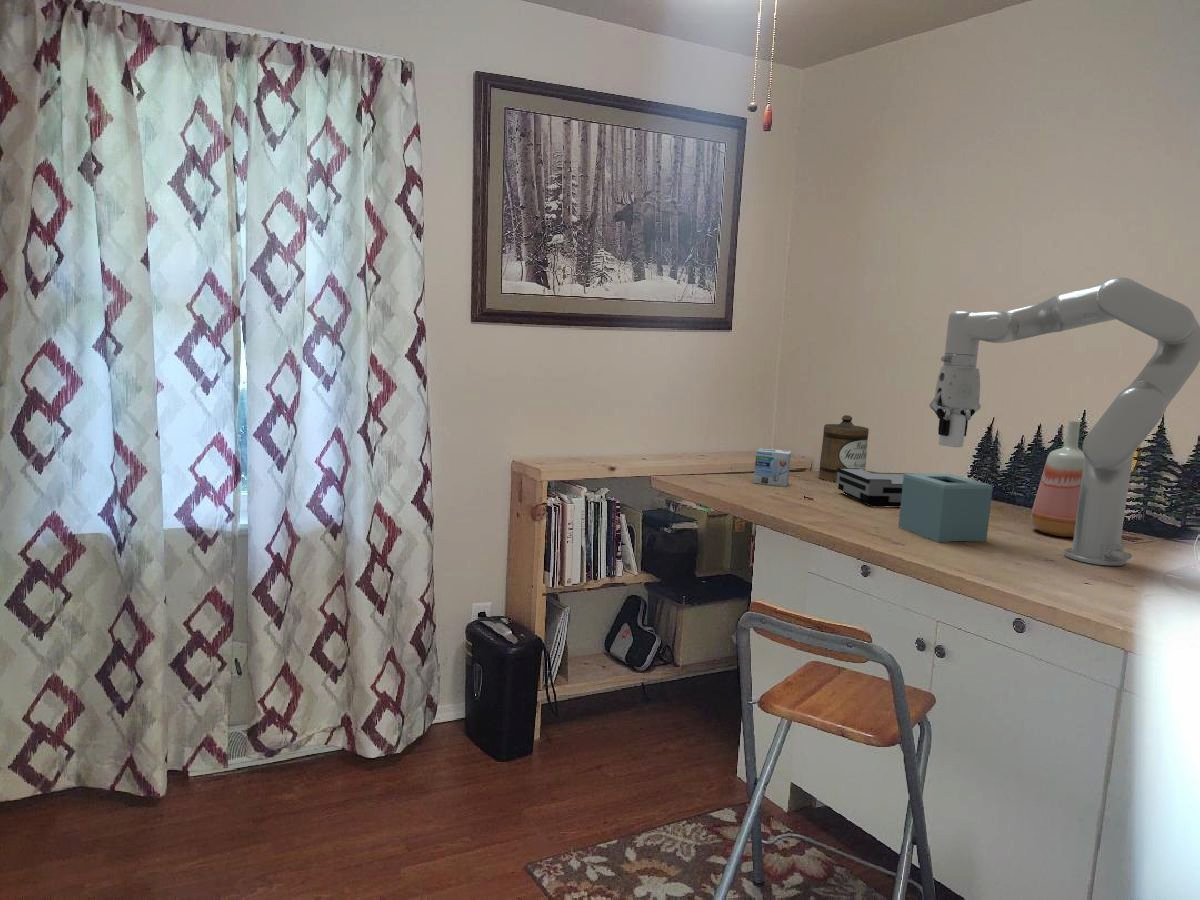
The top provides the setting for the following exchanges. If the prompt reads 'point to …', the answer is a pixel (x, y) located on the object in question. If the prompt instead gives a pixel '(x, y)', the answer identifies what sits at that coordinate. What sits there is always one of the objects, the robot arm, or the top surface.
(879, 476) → the game console
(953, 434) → the eye dropper bottle
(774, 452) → the light bulb box
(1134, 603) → the top surface
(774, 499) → the top surface
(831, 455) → the wooden container
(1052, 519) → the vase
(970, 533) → the drop box
